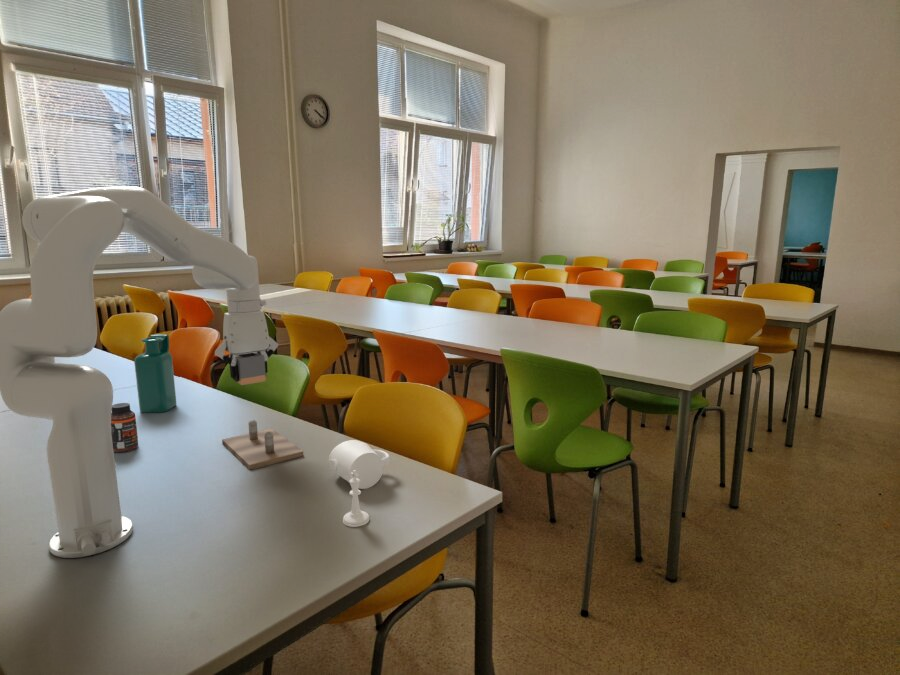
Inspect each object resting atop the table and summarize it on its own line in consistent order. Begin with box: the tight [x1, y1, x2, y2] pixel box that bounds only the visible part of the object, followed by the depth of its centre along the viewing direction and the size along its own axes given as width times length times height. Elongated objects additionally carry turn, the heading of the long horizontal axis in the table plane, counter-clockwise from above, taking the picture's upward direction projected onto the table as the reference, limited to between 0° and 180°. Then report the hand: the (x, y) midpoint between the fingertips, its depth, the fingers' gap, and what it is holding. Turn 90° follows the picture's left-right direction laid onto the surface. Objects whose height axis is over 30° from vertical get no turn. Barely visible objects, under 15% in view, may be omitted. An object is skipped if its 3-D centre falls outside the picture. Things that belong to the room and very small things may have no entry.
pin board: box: [221, 419, 304, 471], centre depth 141 cm, size 20×13×6 cm, turn 38°
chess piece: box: [342, 470, 370, 528], centre depth 107 cm, size 5×5×10 cm
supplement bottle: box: [111, 402, 139, 453], centre depth 142 cm, size 6×6×11 cm
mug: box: [328, 439, 391, 490], centre depth 125 cm, size 12×9×8 cm
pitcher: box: [133, 333, 177, 413], centre depth 172 cm, size 10×8×22 cm
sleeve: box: [237, 352, 267, 386], centre depth 142 cm, size 6×6×6 cm
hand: (249, 377), depth 143 cm, fingers closed on sleeve, 6 cm apart
